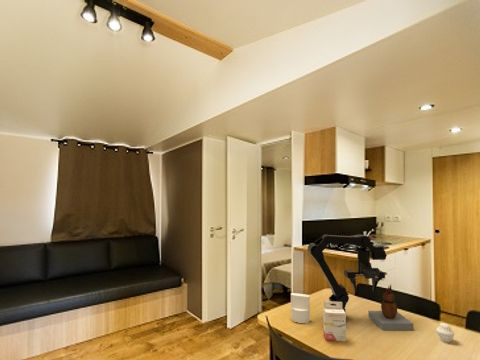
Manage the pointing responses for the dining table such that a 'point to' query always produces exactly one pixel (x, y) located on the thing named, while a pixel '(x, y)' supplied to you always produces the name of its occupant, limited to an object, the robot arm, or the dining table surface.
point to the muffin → (445, 332)
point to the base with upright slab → (300, 308)
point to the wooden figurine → (389, 304)
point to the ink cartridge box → (334, 321)
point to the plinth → (390, 321)
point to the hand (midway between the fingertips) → (364, 291)
